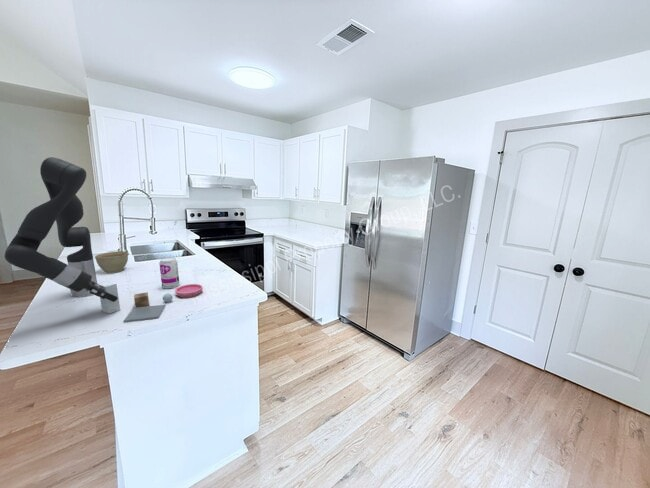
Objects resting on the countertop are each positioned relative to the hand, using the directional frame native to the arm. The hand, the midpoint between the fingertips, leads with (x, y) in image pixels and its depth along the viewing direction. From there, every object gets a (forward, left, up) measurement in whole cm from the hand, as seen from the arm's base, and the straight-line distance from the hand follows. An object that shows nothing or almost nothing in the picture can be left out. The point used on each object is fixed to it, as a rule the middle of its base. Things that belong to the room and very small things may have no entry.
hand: (114, 297), depth 113 cm
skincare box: (-1, -1, -6) cm, 6 cm away
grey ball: (+20, +2, -5) cm, 20 cm away
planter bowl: (-22, +63, -6) cm, 67 cm away
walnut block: (+10, +1, -6) cm, 11 cm away
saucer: (+28, +10, -6) cm, 30 cm away
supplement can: (+17, +24, -6) cm, 30 cm away
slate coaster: (+14, -9, -5) cm, 17 cm away
